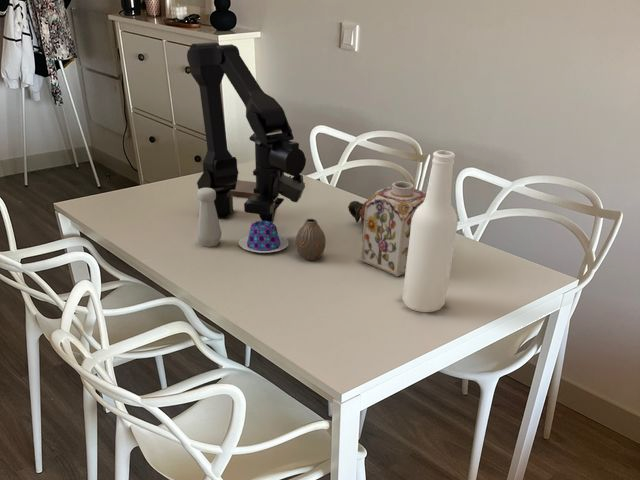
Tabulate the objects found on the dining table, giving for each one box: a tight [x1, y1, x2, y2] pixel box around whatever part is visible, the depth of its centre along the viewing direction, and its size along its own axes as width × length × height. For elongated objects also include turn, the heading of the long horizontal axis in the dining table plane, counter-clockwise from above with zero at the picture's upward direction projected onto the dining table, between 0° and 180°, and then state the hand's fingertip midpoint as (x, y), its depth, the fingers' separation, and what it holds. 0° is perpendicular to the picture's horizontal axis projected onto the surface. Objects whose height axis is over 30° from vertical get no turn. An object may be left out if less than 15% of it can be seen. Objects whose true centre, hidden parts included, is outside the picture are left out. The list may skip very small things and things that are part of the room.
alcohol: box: [401, 149, 459, 313], centre depth 129 cm, size 9×9×30 cm
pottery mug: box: [347, 199, 370, 223], centre depth 170 cm, size 12×10×8 cm
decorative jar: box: [360, 180, 427, 277], centre depth 149 cm, size 12×12×18 cm
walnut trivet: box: [230, 179, 260, 199], centre depth 191 cm, size 12×10×2 cm
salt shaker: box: [196, 188, 222, 248], centre depth 156 cm, size 6×6×13 cm
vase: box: [295, 218, 326, 261], centre depth 153 cm, size 7×7×9 cm
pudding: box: [238, 220, 290, 253], centre depth 158 cm, size 12×12×5 cm
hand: (269, 230), depth 162 cm, fingers closed
